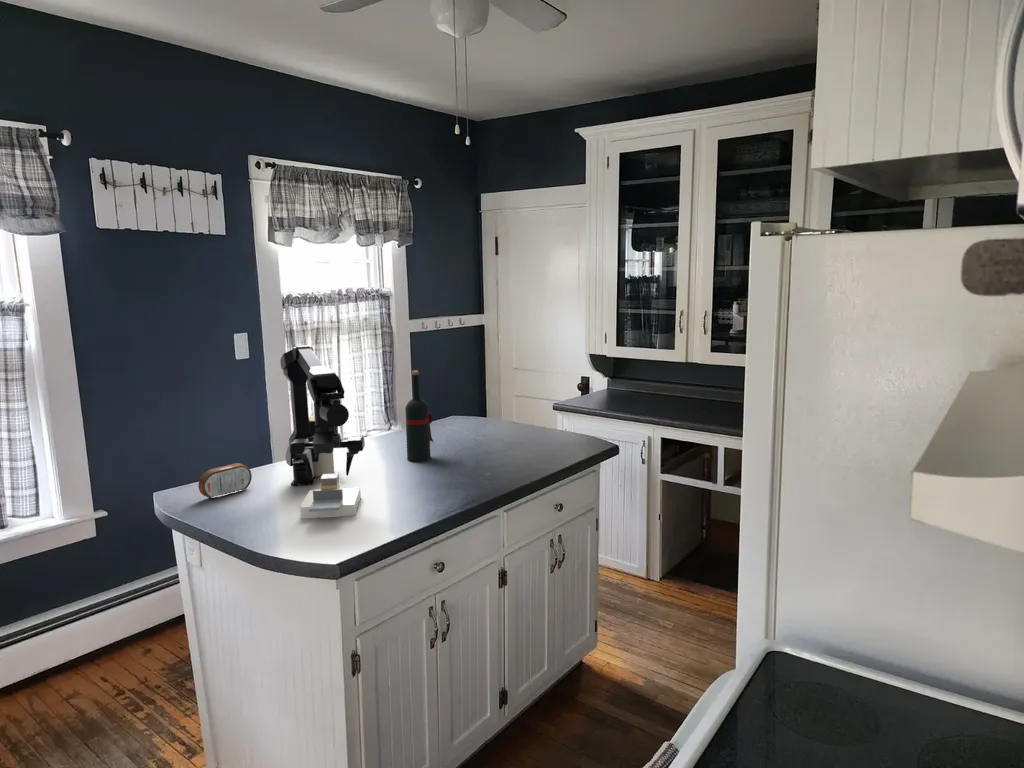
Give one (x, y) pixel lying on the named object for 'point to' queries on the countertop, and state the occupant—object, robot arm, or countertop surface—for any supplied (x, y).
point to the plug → (330, 481)
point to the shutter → (326, 500)
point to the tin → (224, 480)
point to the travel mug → (321, 457)
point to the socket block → (347, 509)
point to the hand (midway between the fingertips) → (329, 476)
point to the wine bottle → (418, 425)
